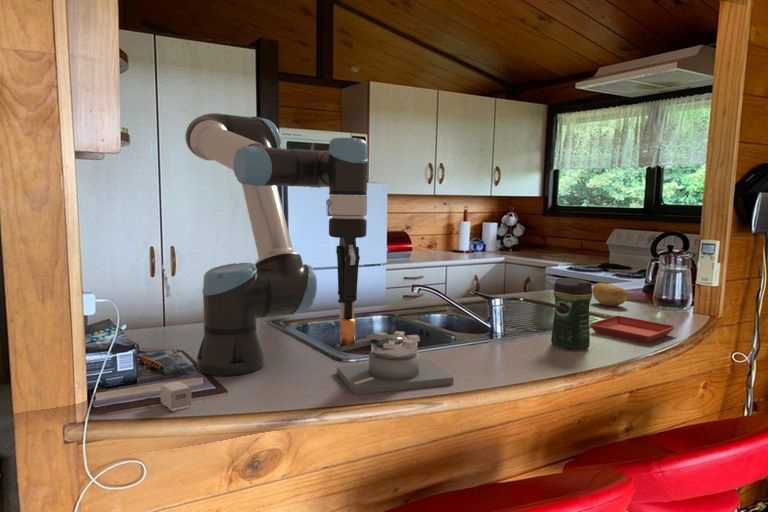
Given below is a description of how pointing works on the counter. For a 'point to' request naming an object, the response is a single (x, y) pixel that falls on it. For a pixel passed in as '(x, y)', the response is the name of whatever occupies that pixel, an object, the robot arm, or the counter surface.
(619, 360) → the counter surface
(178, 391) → the usb wall charger
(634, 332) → the plant saucer
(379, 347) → the bar with orange knob
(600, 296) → the potato
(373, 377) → the base plate
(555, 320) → the coffee jar
